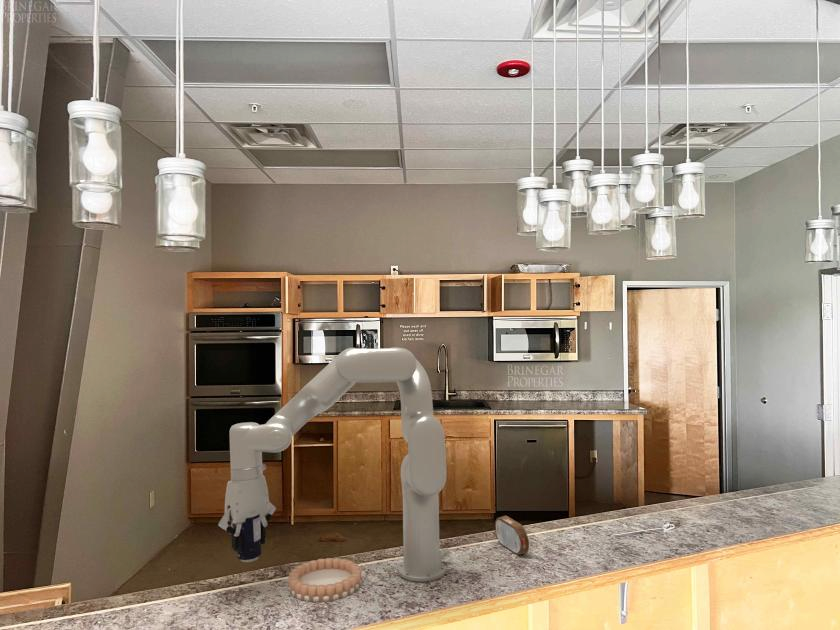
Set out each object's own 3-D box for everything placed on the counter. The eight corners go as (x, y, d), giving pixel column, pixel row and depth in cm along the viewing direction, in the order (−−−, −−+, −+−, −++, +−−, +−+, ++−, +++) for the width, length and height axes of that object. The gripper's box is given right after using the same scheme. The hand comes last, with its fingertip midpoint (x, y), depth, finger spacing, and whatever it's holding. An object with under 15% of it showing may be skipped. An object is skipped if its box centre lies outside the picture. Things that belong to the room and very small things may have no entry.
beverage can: (253, 552, 138) (251, 504, 138) (266, 557, 134) (264, 508, 135) (233, 560, 133) (231, 511, 134) (246, 565, 130) (244, 514, 130)
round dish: (330, 563, 149) (330, 552, 149) (376, 582, 137) (376, 570, 137) (273, 586, 136) (273, 574, 136) (318, 609, 124) (318, 596, 124)
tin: (530, 558, 151) (529, 527, 151) (520, 560, 149) (519, 529, 150) (502, 539, 165) (502, 511, 165) (493, 541, 163) (493, 513, 164)
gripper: (268, 464, 143) (270, 533, 143) (206, 479, 131) (208, 554, 130) (284, 467, 138) (287, 539, 138) (221, 483, 126) (224, 562, 125)
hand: (249, 546), depth 134 cm, fingers closed on beverage can, 5 cm apart
